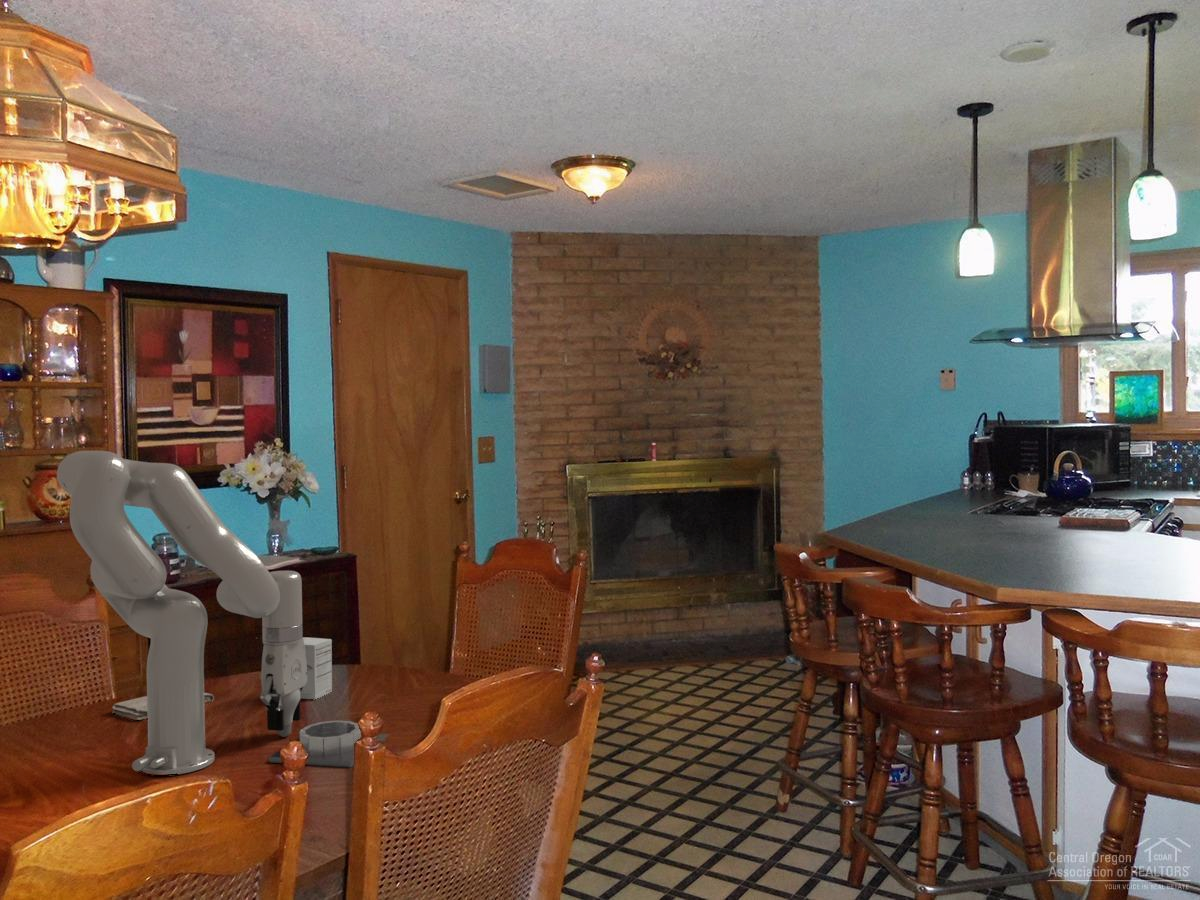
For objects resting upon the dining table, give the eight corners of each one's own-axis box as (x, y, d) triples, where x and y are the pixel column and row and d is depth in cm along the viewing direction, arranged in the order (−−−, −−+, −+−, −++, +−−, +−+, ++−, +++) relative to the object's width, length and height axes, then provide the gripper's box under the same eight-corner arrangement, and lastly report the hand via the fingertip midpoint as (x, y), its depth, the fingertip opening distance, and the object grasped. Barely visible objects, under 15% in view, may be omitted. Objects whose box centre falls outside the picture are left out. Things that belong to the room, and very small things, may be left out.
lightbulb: (261, 739, 189) (260, 683, 189) (284, 730, 195) (284, 676, 194) (284, 743, 186) (283, 686, 186) (307, 734, 192) (306, 679, 192)
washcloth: (107, 716, 207) (107, 702, 207) (183, 696, 222) (183, 683, 222) (139, 725, 201) (138, 710, 201) (215, 704, 216) (215, 690, 216)
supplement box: (286, 698, 218) (285, 643, 218) (305, 690, 225) (304, 636, 225) (315, 700, 216) (314, 644, 216) (333, 692, 223) (332, 638, 223)
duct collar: (350, 767, 172) (350, 745, 172) (269, 762, 176) (269, 740, 176) (387, 739, 188) (387, 719, 188) (312, 735, 191) (312, 715, 191)
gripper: (277, 644, 181) (278, 739, 181) (321, 625, 198) (322, 713, 198) (240, 642, 182) (242, 737, 183) (287, 624, 199) (289, 711, 200)
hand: (284, 724), depth 190 cm, fingers closed on lightbulb, 5 cm apart
